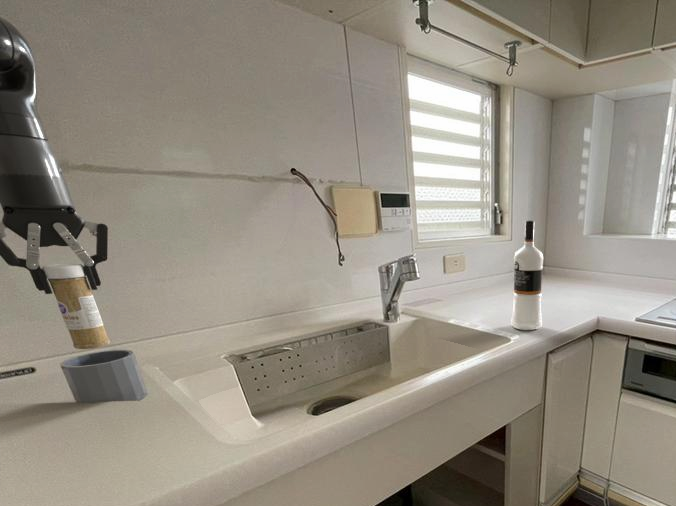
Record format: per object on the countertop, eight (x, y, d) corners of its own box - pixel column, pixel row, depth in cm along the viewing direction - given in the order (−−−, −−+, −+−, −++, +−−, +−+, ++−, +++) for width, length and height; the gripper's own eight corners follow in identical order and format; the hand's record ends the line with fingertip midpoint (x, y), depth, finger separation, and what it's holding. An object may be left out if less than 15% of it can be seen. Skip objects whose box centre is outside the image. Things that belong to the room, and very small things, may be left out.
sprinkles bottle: (66, 349, 66) (32, 266, 61) (94, 341, 70) (64, 262, 66) (92, 350, 66) (60, 266, 61) (118, 342, 70) (90, 263, 65)
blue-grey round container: (62, 412, 67) (43, 367, 64) (108, 390, 76) (92, 350, 73) (121, 410, 68) (104, 366, 65) (159, 389, 77) (146, 349, 74)
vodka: (546, 329, 118) (551, 220, 107) (516, 331, 116) (518, 220, 105) (535, 322, 126) (539, 220, 115) (507, 324, 124) (508, 220, 113)
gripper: (92, 178, 66) (128, 284, 72) (-48, 171, 56) (7, 293, 63) (95, 175, 61) (132, 289, 67) (-58, 167, 51) (2, 300, 58)
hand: (72, 290), depth 65 cm, fingers closed on sprinkles bottle, 4 cm apart
